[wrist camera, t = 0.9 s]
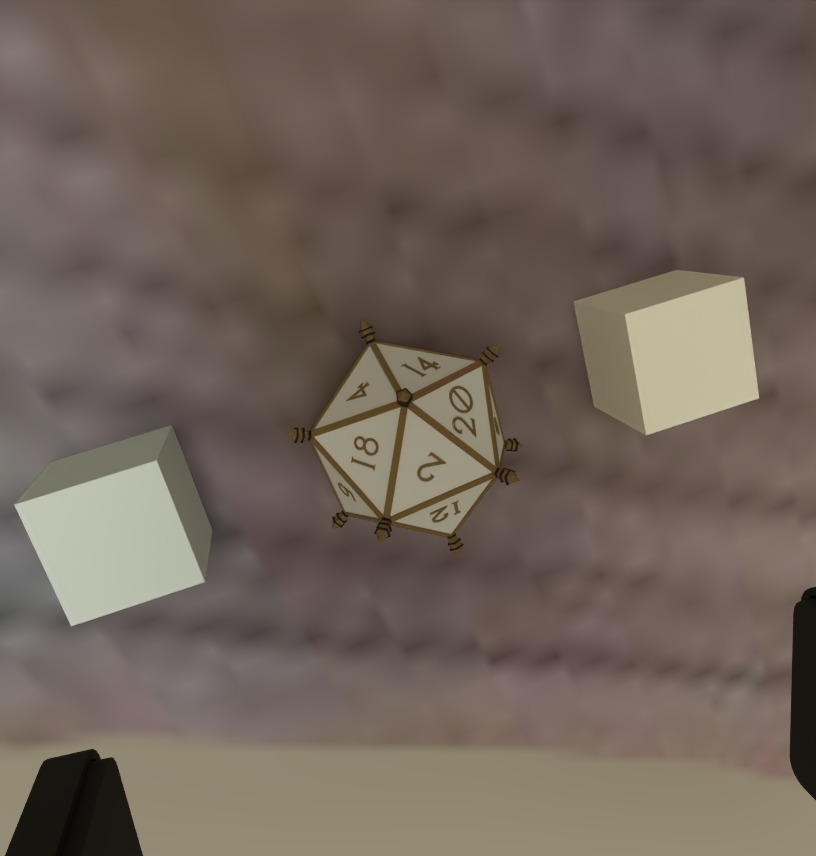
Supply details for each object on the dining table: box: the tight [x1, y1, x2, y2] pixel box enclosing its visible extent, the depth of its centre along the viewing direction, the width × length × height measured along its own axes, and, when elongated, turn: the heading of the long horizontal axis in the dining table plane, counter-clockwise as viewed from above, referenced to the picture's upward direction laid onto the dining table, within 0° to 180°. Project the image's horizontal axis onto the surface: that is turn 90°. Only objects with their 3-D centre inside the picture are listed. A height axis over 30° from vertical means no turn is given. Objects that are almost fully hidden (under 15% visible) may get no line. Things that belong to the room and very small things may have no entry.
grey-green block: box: [15, 425, 212, 626], centre depth 29 cm, size 5×5×5 cm
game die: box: [286, 320, 522, 556], centre depth 29 cm, size 9×8×10 cm
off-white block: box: [573, 270, 759, 435], centre depth 32 cm, size 5×5×5 cm
